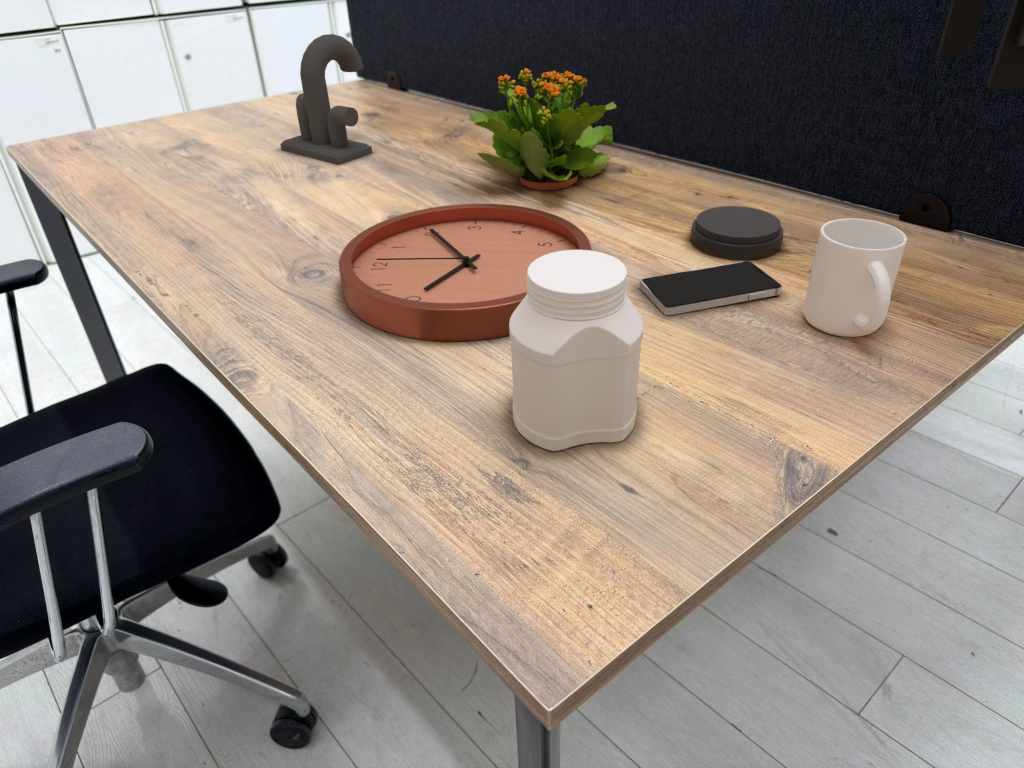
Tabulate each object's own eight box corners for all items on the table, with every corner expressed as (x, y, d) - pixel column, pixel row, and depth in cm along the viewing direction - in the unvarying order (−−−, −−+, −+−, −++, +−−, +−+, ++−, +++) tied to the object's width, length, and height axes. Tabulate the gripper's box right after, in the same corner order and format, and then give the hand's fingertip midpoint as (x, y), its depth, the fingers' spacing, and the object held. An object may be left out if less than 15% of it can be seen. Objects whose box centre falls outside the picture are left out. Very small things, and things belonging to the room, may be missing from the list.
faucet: (402, 143, 142) (389, 32, 131) (341, 165, 132) (321, 46, 121) (341, 130, 152) (324, 25, 140) (280, 149, 142) (256, 38, 130)
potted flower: (624, 208, 110) (630, 87, 100) (469, 212, 111) (461, 92, 101) (609, 157, 131) (614, 53, 121) (479, 161, 132) (473, 57, 122)
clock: (599, 307, 76) (308, 311, 78) (598, 340, 79) (315, 343, 80) (585, 201, 102) (366, 205, 104) (584, 227, 104) (371, 231, 106)
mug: (909, 356, 74) (940, 265, 68) (828, 358, 74) (851, 267, 68) (863, 301, 84) (886, 216, 78) (791, 303, 84) (809, 219, 78)
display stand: (772, 225, 103) (776, 205, 101) (788, 261, 93) (793, 239, 91) (687, 224, 104) (689, 204, 103) (694, 259, 95) (696, 238, 93)
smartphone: (638, 278, 88) (748, 259, 91) (637, 287, 89) (747, 268, 92) (667, 308, 82) (784, 287, 85) (666, 318, 83) (782, 296, 85)
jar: (617, 379, 72) (625, 239, 64) (649, 437, 65) (664, 288, 56) (504, 394, 71) (498, 253, 62) (524, 456, 63) (519, 305, 55)
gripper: (963, -219, 63) (896, 44, 75) (1100, -265, 43) (979, 104, 55) (1057, -224, 62) (974, 44, 74) (1244, -274, 42) (1088, 106, 54)
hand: (976, 70), depth 65 cm, fingers open, 13 cm apart
